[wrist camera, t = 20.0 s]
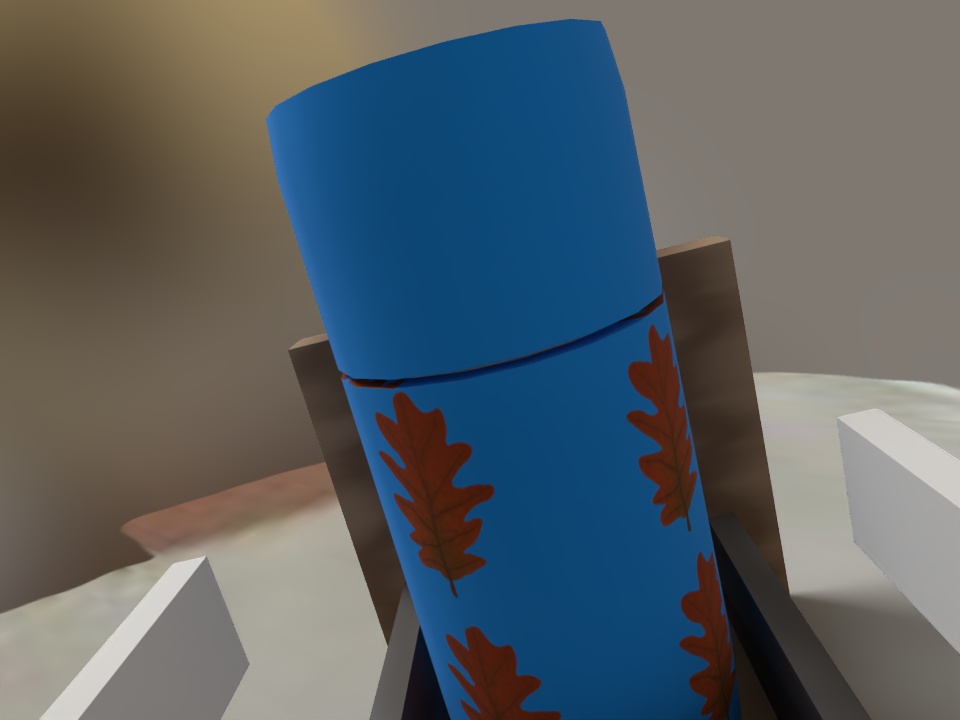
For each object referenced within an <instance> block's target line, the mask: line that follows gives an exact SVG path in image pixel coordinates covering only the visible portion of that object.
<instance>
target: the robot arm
mask: <svg viewBox="0 0 960 720" xmlns="http://www.w3.org/2000/svg"><path fill="white" fill-rule="evenodd" d="M837 423H838V430H839V438H840V445H841V452H842V459H843V466H844V473H845V481H846V488H847V495H848V502H849V509H850V516H851V523H852V531H853V538H854V542H855V543H856V544H857V545H858V547H859V548H860V549H861V550H862V551H863V552H864V553H865V554H866V555H867V556H868V557H869V558H870V559H871V560H872V561H873V563H874V564H875V565H876V566H877V567H878V568H879V569H880V570H881V571H882V572H883V573H884V574H885V575H886V576H887V577H888V578H889V580H890V581H891V582H892V583H893V584H894V585H895V586H896V587H897V588H898V589H899V590H900V591H901V592H902V593H903V594H904V595H905V597H906V598H907V599H908V600H909V601H910V602H911V603H912V604H913V605H914V606H915V607H916V608H917V609H918V610H919V611H920V612H921V614H922V615H923V616H924V617H925V618H926V619H927V620H928V621H929V622H930V623H931V624H932V625H933V626H934V627H935V628H936V629H937V631H938V632H939V633H940V634H941V635H942V636H943V637H944V638H945V639H946V640H947V641H948V642H949V643H950V644H951V645H952V646H953V648H954V649H955V650H956V651H957V652H958V653H959V654H960V460H958V459H957V458H955V457H954V456H952V455H950V454H949V453H947V452H946V451H944V450H943V449H941V448H939V447H938V446H936V445H935V444H933V443H932V442H930V441H928V440H927V439H925V438H924V437H922V436H921V435H919V434H917V433H916V432H914V431H913V430H911V429H909V428H908V427H906V426H905V425H903V424H902V423H900V422H898V421H897V420H895V419H894V418H892V417H891V416H889V415H887V414H886V413H884V412H883V411H881V410H880V409H878V408H875V409H871V410H866V411H862V412H857V413H853V414H848V415H843V416H839V417H837ZM248 666H249V662H248V659H247V657H246V654H245V652H244V649H243V647H242V644H241V642H240V639H239V637H238V634H237V632H236V629H235V627H234V624H233V622H232V619H231V617H230V614H229V611H228V609H227V606H226V604H225V601H224V599H223V596H222V594H221V591H220V589H219V586H218V584H217V581H216V579H215V576H214V574H213V571H212V569H211V566H210V564H209V561H208V559H207V556H205V557H201V558H196V559H191V560H187V561H182V562H178V563H173V564H172V566H171V567H170V568H169V569H168V570H167V571H166V573H165V574H164V575H163V576H162V577H161V578H160V580H159V581H158V582H157V583H156V584H155V585H154V587H153V588H152V589H151V590H150V591H149V592H148V594H147V595H146V596H145V597H144V598H143V599H142V601H141V602H140V603H139V604H138V605H137V606H136V608H135V609H134V610H133V611H132V612H131V613H130V614H129V616H128V617H127V618H126V619H125V620H124V621H123V623H122V624H121V625H120V626H119V627H118V628H117V630H116V631H115V632H114V633H113V634H112V635H111V637H110V638H109V639H108V640H107V641H106V642H105V644H104V645H103V646H102V647H101V648H100V649H99V651H98V652H97V653H96V654H95V655H94V656H93V658H92V659H91V660H90V661H89V662H88V663H87V665H86V666H85V667H84V668H83V669H82V670H81V672H80V673H79V674H78V675H77V676H76V677H75V679H74V680H73V681H72V682H71V683H70V684H69V686H68V687H67V688H66V689H65V690H64V691H63V693H62V694H61V695H60V696H59V697H58V698H57V700H56V701H55V702H54V703H53V704H52V705H51V707H50V708H49V709H48V710H47V711H46V712H45V714H44V715H43V716H42V717H41V718H40V719H39V720H220V719H221V718H222V716H223V714H224V712H225V710H226V708H227V706H228V704H229V702H230V700H231V699H232V697H233V695H234V693H235V691H236V689H237V687H238V685H239V683H240V681H241V680H242V678H243V676H244V674H245V672H246V670H247V668H248Z"/></svg>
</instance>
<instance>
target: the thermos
mask: <svg viewBox="0 0 960 720" xmlns="http://www.w3.org/2000/svg"><path fill="white" fill-rule="evenodd" d="M266 122H267V127H268V132H269V137H270V142H271V148H272V153H273V158H274V163H275V168H276V174H277V179H278V183H279V186H280V189H281V192H282V195H283V198H284V201H285V204H286V208H287V211H288V214H289V217H290V220H291V223H292V226H293V230H294V233H295V236H296V239H297V242H298V245H299V248H300V251H301V255H302V258H303V261H304V264H305V267H306V270H307V273H308V276H309V280H310V282H311V286H312V289H313V292H314V295H315V298H316V301H317V304H318V308H319V311H320V314H321V317H322V320H323V323H324V326H325V329H326V333H327V336H328V339H329V342H330V345H331V348H332V351H333V354H334V358H335V361H336V364H337V367H338V370H339V371H341V372H343V374H342V377H341V379H342V383H343V386H344V389H345V392H346V395H347V398H348V401H349V404H350V408H351V411H352V414H353V417H354V420H355V423H356V426H357V429H358V432H359V436H360V439H361V442H362V445H363V448H364V451H365V454H366V457H367V461H368V464H369V467H370V470H371V473H372V476H373V479H374V482H375V486H376V489H377V492H378V495H379V498H380V501H381V504H382V507H383V511H384V514H385V517H386V520H387V523H388V526H389V529H390V532H391V535H392V539H393V542H394V545H395V548H396V551H397V554H398V557H399V560H400V564H401V567H402V570H403V573H404V576H405V579H406V582H407V585H408V589H409V592H410V595H411V598H412V601H413V604H414V607H415V610H416V614H417V617H418V620H419V623H420V626H421V629H422V632H423V635H424V638H425V642H426V645H427V648H428V651H429V654H430V657H431V660H432V663H433V667H434V670H435V673H436V676H437V679H438V682H439V685H440V688H441V692H442V695H443V698H444V701H445V704H446V707H447V710H448V713H449V716H450V719H451V720H742V717H741V709H740V701H739V693H738V685H737V677H736V670H735V662H734V655H733V648H732V640H731V633H730V628H729V623H728V618H727V613H726V608H725V603H724V597H723V592H722V587H721V582H720V577H719V572H718V567H717V561H716V556H715V551H714V546H713V541H712V536H711V531H710V526H709V520H708V515H707V510H706V505H705V500H704V495H703V490H702V484H701V479H700V474H699V469H698V464H697V459H696V454H695V449H694V443H693V438H692V433H691V428H690V423H689V418H688V413H687V407H686V402H685V397H684V392H683V387H682V382H681V377H680V371H679V366H678V361H677V356H676V351H675V346H674V341H673V336H672V330H671V325H670V320H669V315H668V310H667V305H666V300H665V294H664V289H662V279H661V274H660V269H659V264H658V259H657V253H656V248H655V243H654V238H653V233H652V228H651V223H650V218H649V212H648V207H647V202H646V197H645V192H644V188H643V182H642V176H641V172H640V166H639V161H638V156H637V151H636V146H635V140H634V135H633V130H632V125H631V121H630V115H629V110H628V105H627V99H626V95H625V90H624V87H623V83H622V80H621V77H620V74H619V71H618V68H617V65H616V61H615V58H614V55H613V52H612V49H611V46H610V43H609V40H608V37H607V34H606V30H605V29H604V27H603V25H602V23H601V21H591V20H577V19H568V20H559V21H551V22H543V23H536V24H527V25H519V26H514V27H509V28H505V29H500V30H495V31H491V32H487V33H482V34H478V35H473V36H468V37H464V38H459V39H455V40H450V41H446V42H442V43H438V44H435V45H432V46H428V47H425V48H422V49H418V50H415V51H411V52H408V53H405V54H401V55H398V56H395V57H391V58H388V59H385V60H381V61H378V62H375V63H371V64H368V65H366V66H363V67H361V68H358V69H356V70H353V71H350V72H348V73H345V74H343V75H340V76H337V77H335V78H332V79H329V80H327V81H324V82H322V83H319V84H317V85H314V86H312V87H309V88H307V89H306V90H304V91H302V92H300V93H298V94H297V95H295V96H293V97H291V98H289V99H287V100H285V101H284V102H282V103H280V104H278V105H276V106H275V107H274V109H273V110H272V111H271V113H270V114H269V116H268V117H267V118H266Z"/></svg>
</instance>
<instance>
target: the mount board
mask: <svg viewBox="0 0 960 720" xmlns="http://www.w3.org/2000/svg"><path fill="white" fill-rule="evenodd" d="M656 253H657V259H658V264H659V269H660V274H661V279H662V289H664V294H665V300H666V305H667V310H668V315H669V320H670V325H671V330H672V336H673V341H674V346H675V351H676V356H677V361H678V366H679V371H680V377H681V382H682V387H683V392H684V397H685V402H686V407H687V413H688V418H689V423H690V428H691V433H692V438H693V443H694V449H695V454H696V459H697V464H698V469H699V474H700V479H701V484H702V490H703V495H704V500H705V505H706V510H707V515H708V520H709V526H710V531H711V536H712V541H713V546H714V551H715V556H716V561H717V567H718V572H719V577H720V582H721V587H722V592H723V597H724V603H725V608H726V613H727V618H728V623H729V628H730V633H731V640H732V648H733V655H734V662H735V670H736V677H737V685H738V693H739V701H740V709H741V717H742V720H871V718H870V717H869V715H868V714H867V712H866V711H865V709H864V708H863V706H862V705H861V703H860V702H859V700H858V699H857V697H856V696H855V694H854V693H853V691H852V690H851V688H850V687H849V685H848V684H847V682H846V681H845V679H844V678H843V676H842V675H841V673H840V672H839V670H838V669H837V667H836V666H835V664H834V663H833V661H832V660H831V658H830V657H829V655H828V654H827V652H826V651H825V649H824V648H823V646H822V645H821V643H820V642H819V640H818V639H817V637H816V635H815V634H814V632H813V631H812V629H811V628H810V626H809V625H808V623H807V622H806V620H805V619H804V617H803V616H802V614H801V613H800V611H799V610H798V608H797V607H796V605H795V604H794V602H793V601H792V599H791V598H790V593H789V587H788V581H787V575H786V569H785V564H784V558H783V552H782V546H781V540H780V534H779V528H778V522H777V516H776V510H775V504H774V498H773V492H772V486H771V480H770V474H769V468H768V462H767V456H766V450H765V445H764V439H763V433H762V427H761V421H760V415H759V409H758V403H757V397H756V391H755V385H754V379H753V373H752V367H751V362H750V355H749V349H748V343H747V337H746V331H745V326H744V320H743V314H742V308H741V302H740V296H739V290H738V284H737V278H736V273H735V266H734V260H733V255H732V248H731V242H730V240H729V239H726V238H722V237H719V236H712V237H708V238H704V239H700V240H696V241H692V242H688V243H684V244H680V245H676V246H672V247H668V248H664V249H660V250H656ZM288 351H289V354H290V357H291V360H292V363H293V366H294V369H295V372H296V375H297V378H298V381H299V384H300V387H301V390H302V393H303V396H304V399H305V402H306V405H307V408H308V411H309V414H310V417H311V420H312V423H313V426H314V429H315V432H316V435H317V438H318V440H319V444H320V447H321V449H322V452H323V455H324V458H325V461H326V464H327V467H328V470H329V473H330V476H331V479H332V482H333V485H334V488H335V491H336V494H337V497H338V500H339V503H340V506H341V509H342V512H343V515H344V518H345V521H346V524H347V527H348V530H349V533H350V536H351V539H352V542H353V544H354V547H355V550H356V553H357V556H358V559H359V562H360V565H361V568H362V571H363V574H364V577H365V580H366V583H367V586H368V589H369V592H370V595H371V598H372V601H373V604H374V607H375V610H376V613H377V616H378V619H379V622H380V625H381V628H382V631H383V634H384V637H385V640H386V642H387V645H388V649H387V653H386V657H385V661H384V665H383V669H382V673H381V677H380V681H379V684H378V688H377V692H376V696H375V700H374V704H373V708H372V712H371V716H370V720H451V719H450V716H449V713H448V710H447V707H446V704H445V701H444V698H443V695H442V692H441V688H440V685H439V682H438V679H437V676H436V673H435V670H434V667H433V663H432V660H431V657H430V654H429V651H428V648H427V645H426V642H425V638H424V635H423V632H422V629H421V626H420V623H419V620H418V617H417V614H416V610H415V607H414V604H413V601H412V598H411V595H410V592H409V589H408V585H407V582H406V579H405V576H404V573H403V570H402V567H401V564H400V560H399V557H398V554H397V551H396V548H395V545H394V542H393V539H392V535H391V532H390V529H389V526H388V523H387V520H386V517H385V514H384V511H383V507H382V504H381V501H380V498H379V495H378V492H377V489H376V486H375V482H374V479H373V476H372V473H371V470H370V467H369V464H368V461H367V457H366V454H365V451H364V448H363V445H362V442H361V439H360V436H359V432H358V429H357V426H356V423H355V420H354V417H353V414H352V411H351V408H350V404H349V401H348V398H347V395H346V392H345V389H344V386H343V383H342V379H341V377H342V374H343V372H341V371H339V370H338V367H337V364H336V361H335V358H334V354H333V351H332V348H331V345H330V342H329V339H328V336H327V333H324V334H320V335H317V336H313V337H308V338H305V339H301V340H300V341H299V342H297V343H296V344H295V345H294V346H293V347H291V348H290V349H289V350H288Z"/></svg>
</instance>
